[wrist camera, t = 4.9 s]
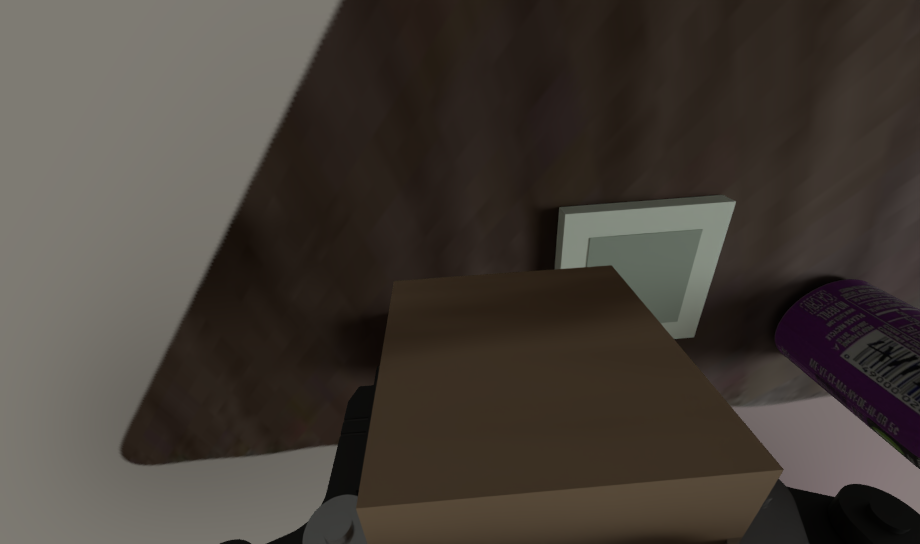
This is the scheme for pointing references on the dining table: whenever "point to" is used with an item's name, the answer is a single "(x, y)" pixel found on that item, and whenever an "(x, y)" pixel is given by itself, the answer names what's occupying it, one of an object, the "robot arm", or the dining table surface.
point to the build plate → (652, 250)
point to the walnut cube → (549, 421)
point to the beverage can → (861, 355)
